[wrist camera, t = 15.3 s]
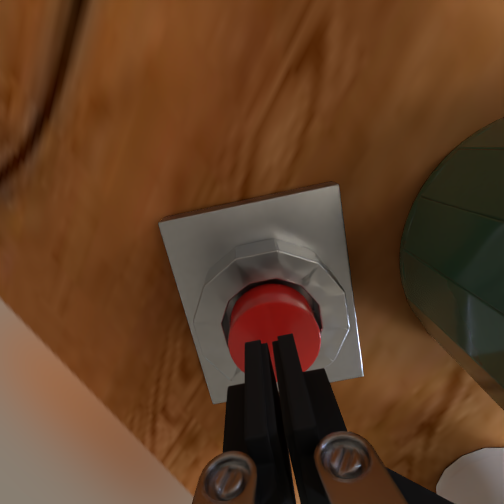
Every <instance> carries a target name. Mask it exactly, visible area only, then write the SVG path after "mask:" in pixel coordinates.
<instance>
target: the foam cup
mask: <svg viewBox="0 0 504 504" xmlns="http://www.w3.org/2000/svg"><path fill="white" fill-rule="evenodd" d="M436 492H437V494H438V495H439V496H441V497H443V498H445V499H447V500H449V501H451V502H453V503H455V504H504V448H483V449H481V450H478V451H475V452H472V453H469V454H467V455H464V456H462V457H460V458H459V459H458V460H457V461H455V462H454V463H453V464H452V465H450V466H449V467H448V468H446V469H445V470H444V472H443V474H442V476H441V478H440V480H439V482H438V484H437V485H436Z"/></svg>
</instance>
